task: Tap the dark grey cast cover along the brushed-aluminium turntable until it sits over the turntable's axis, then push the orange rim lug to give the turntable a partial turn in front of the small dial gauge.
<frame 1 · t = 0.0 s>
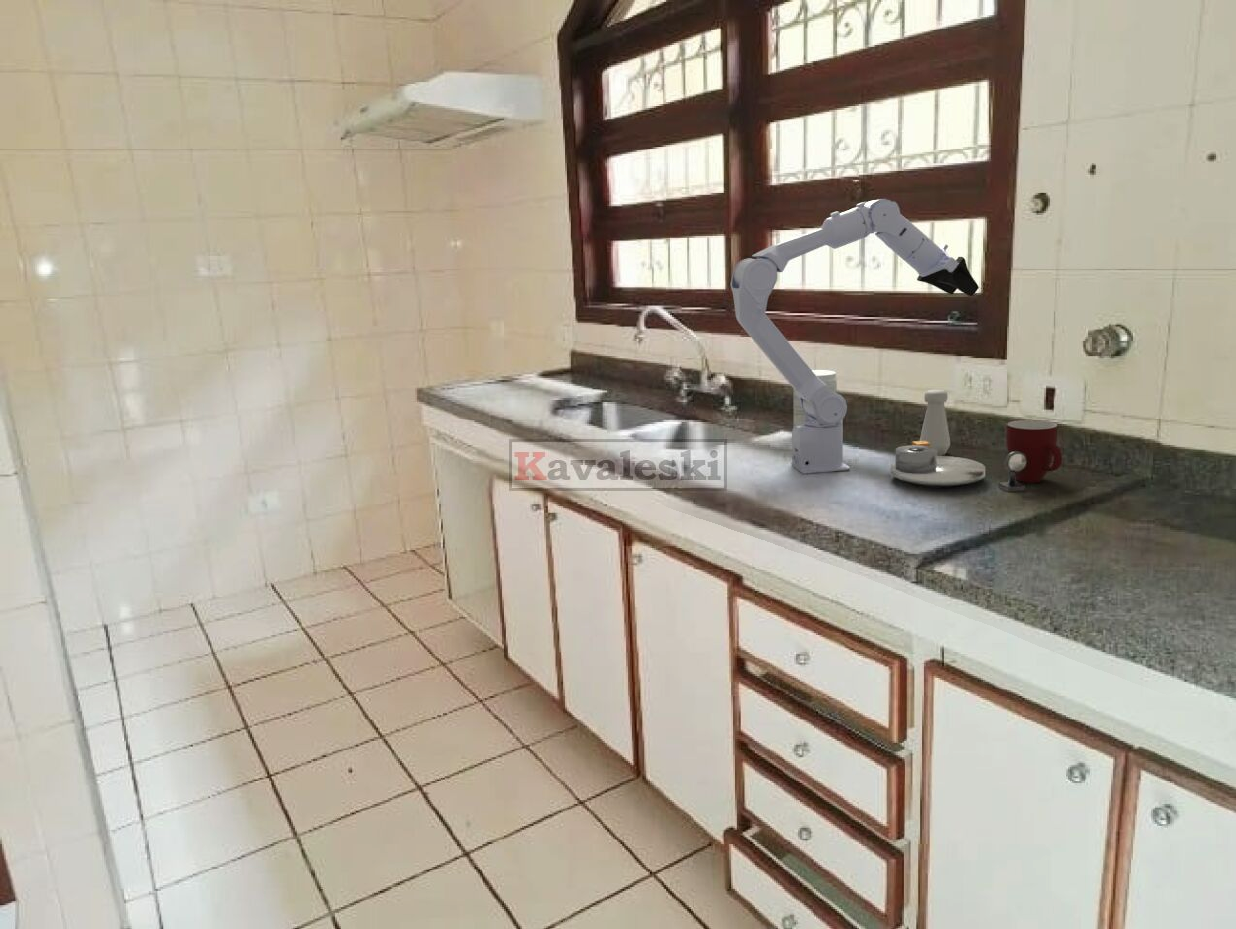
hand: (964, 291, 159), 32 cm above the worktop, tool tilted 50°, fingers open, 7 cm apart
mug: (1034, 482, 147), on the worktop
turntable: (937, 461, 151), point 3 cm above the worktop, hinge at 0.0°, touching cover
turntable base: (936, 479, 152), on the worktop
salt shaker: (934, 454, 170), on the worktop
dial gauge: (1011, 488, 144), on the worktop
cover: (915, 468, 151), point 2 cm above the worktop, touching turntable
supplement tub: (815, 437, 192), on the worktop
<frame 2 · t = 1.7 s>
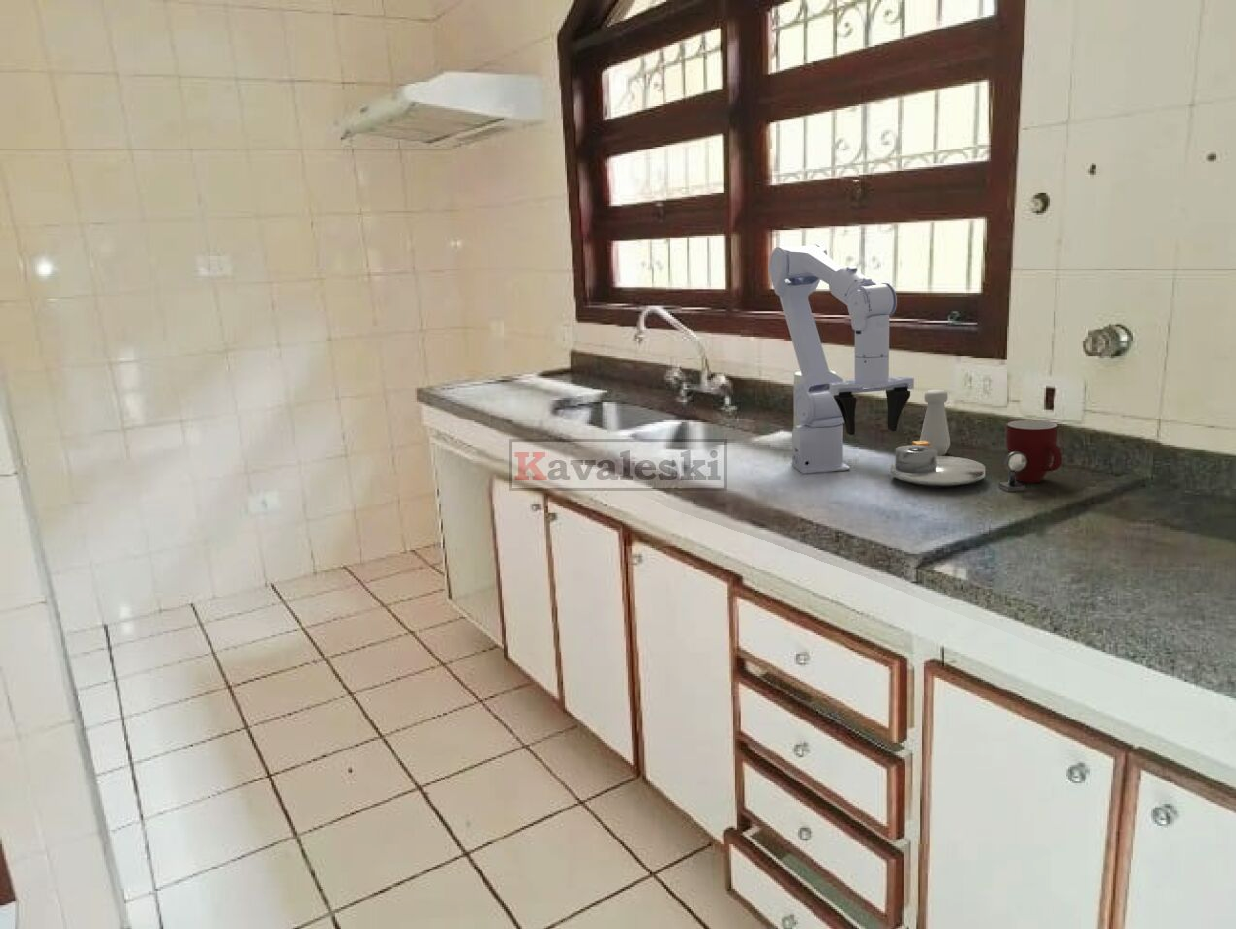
hand: (871, 432, 149), 10 cm above the worktop, tool pointing down, fingers open, 7 cm apart
nothing on the worktop moved.
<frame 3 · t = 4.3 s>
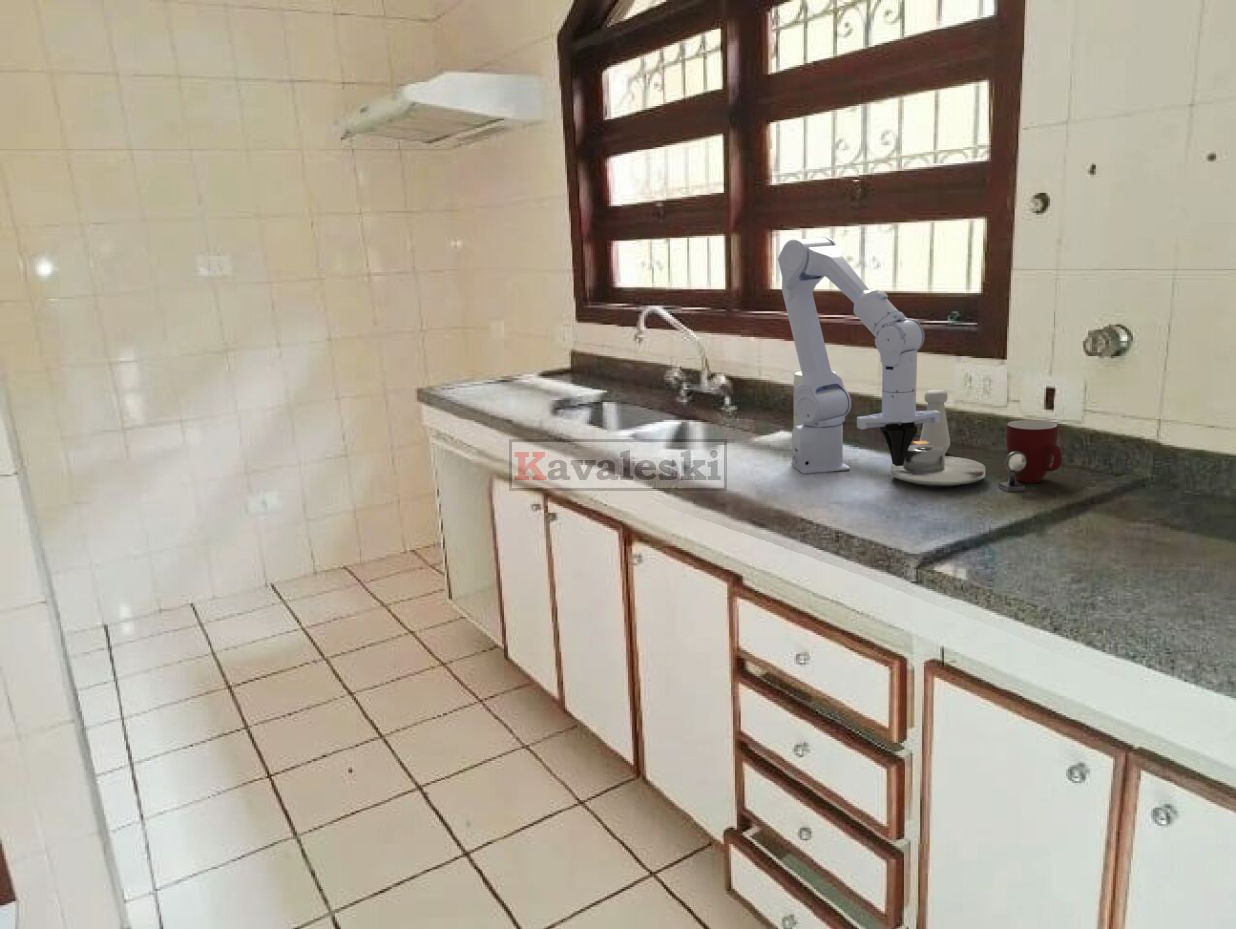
hand: (897, 464, 150), 4 cm above the worktop, tool pointing down, fingers closed
turntable: (937, 461, 151), point 3 cm above the worktop, hinge at 0.0°
cover: (923, 467, 151), point 3 cm above the worktop, touching gripper
everything else where it was.
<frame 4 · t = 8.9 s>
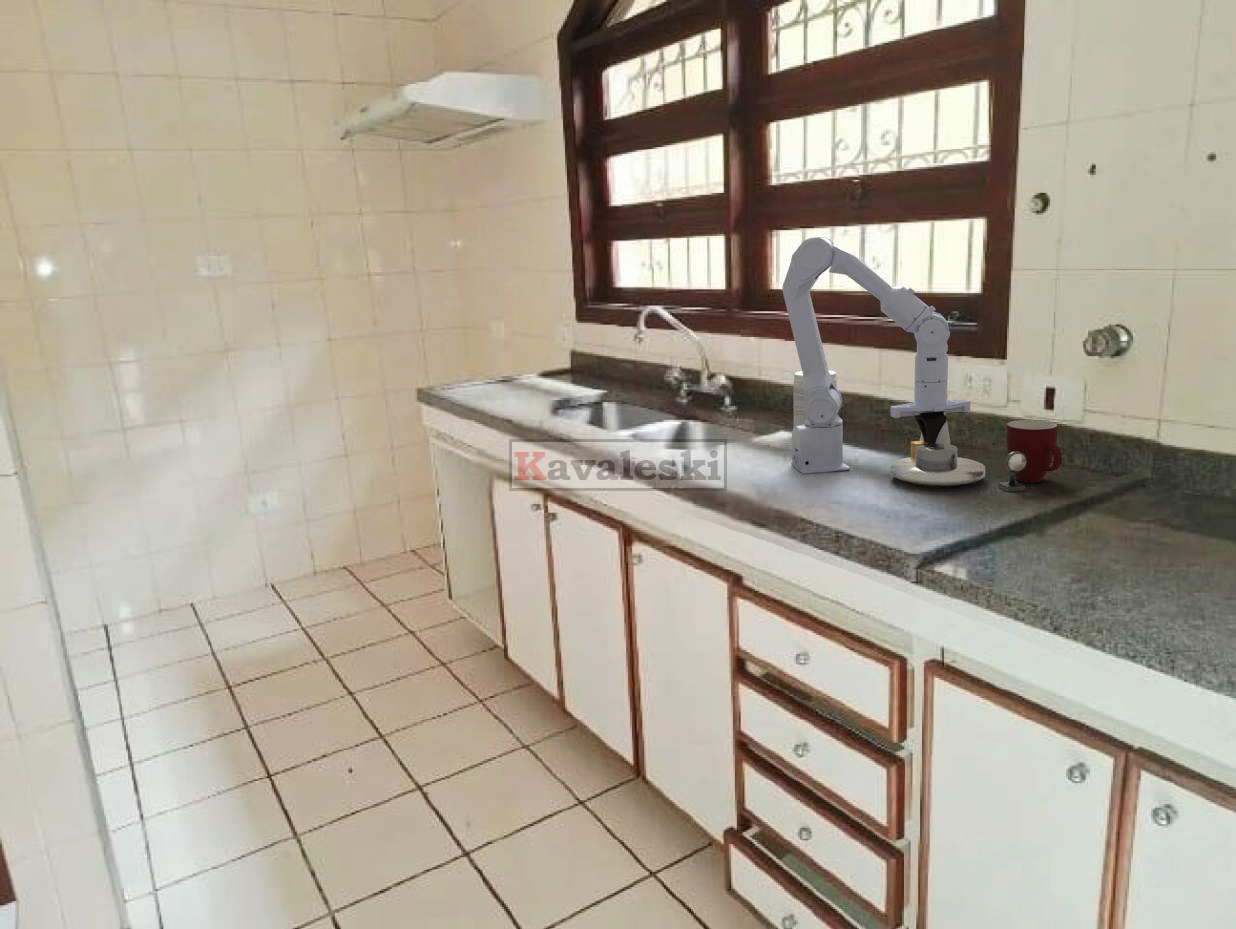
hand: (929, 451, 158), 4 cm above the worktop, tool pointing down, fingers closed
turntable: (937, 461, 151), point 3 cm above the worktop, hinge at 2.1°, touching cover, gripper
cover: (936, 466, 151), point 2 cm above the worktop, touching turntable
everything else where it was.
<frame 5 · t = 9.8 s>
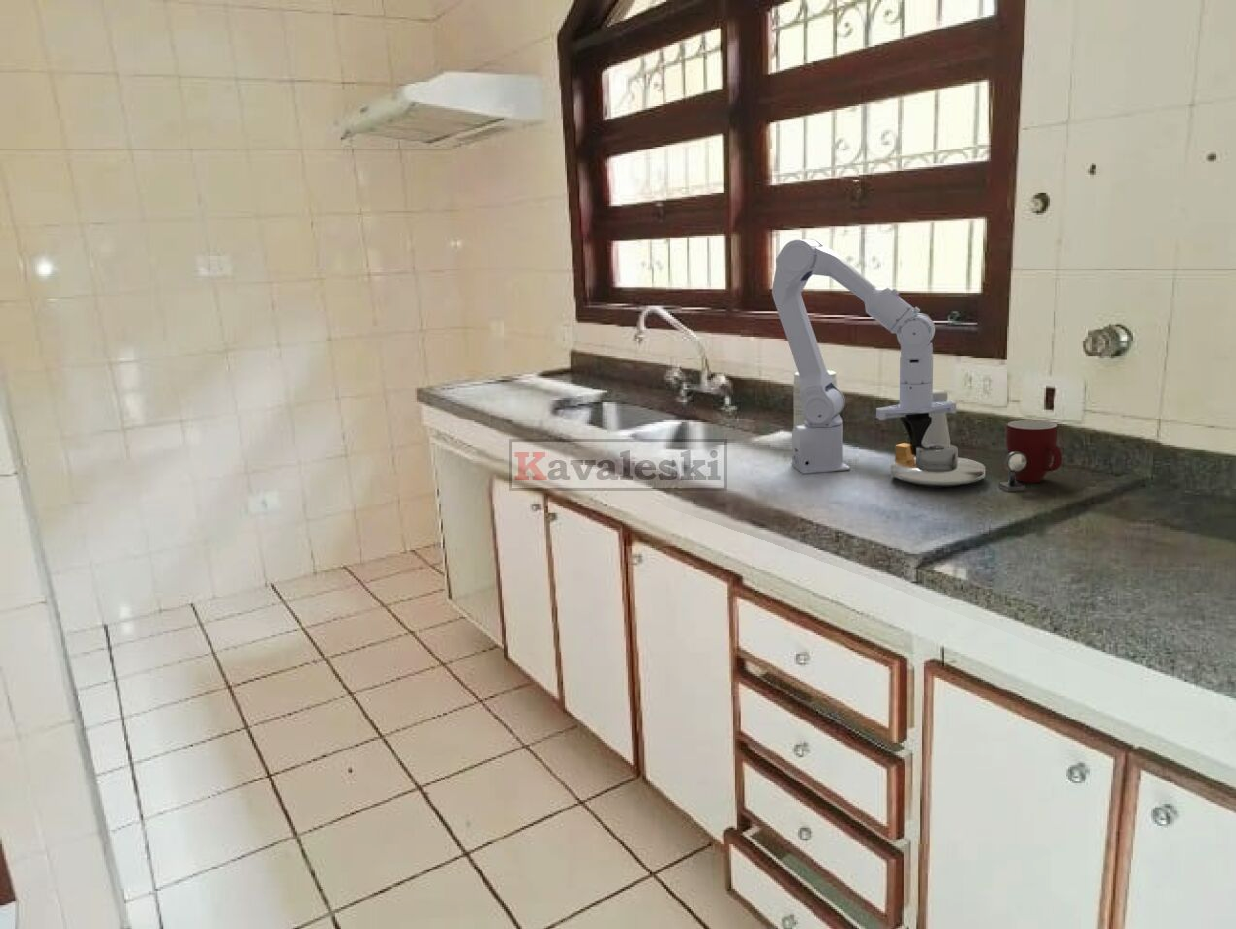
hand: (915, 453, 157), 4 cm above the worktop, tool pointing down, fingers closed, pressing on turntable
turntable: (937, 461, 151), point 3 cm above the worktop, hinge at 31.9°, touching cover, gripper
everything else where it was.
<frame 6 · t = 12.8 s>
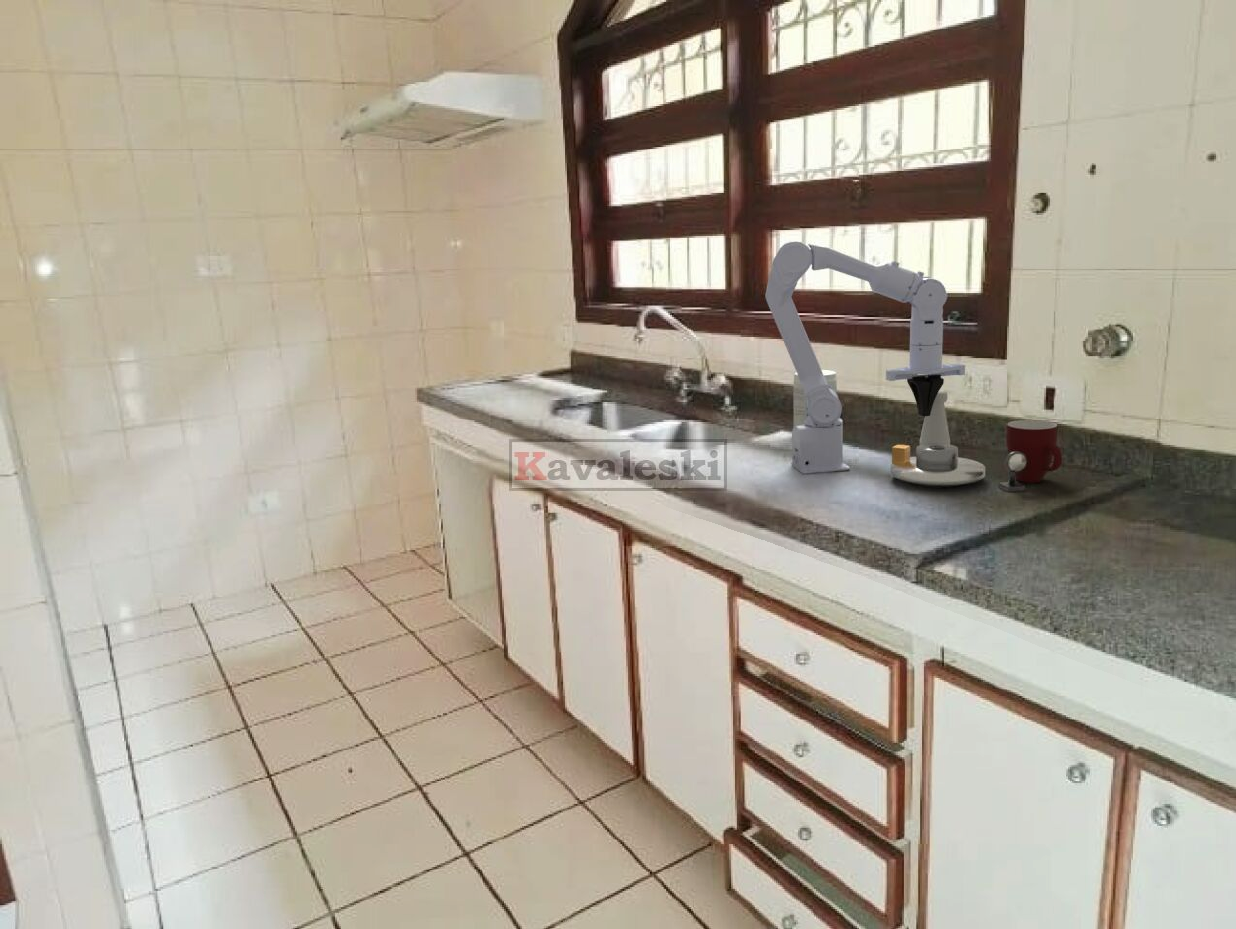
hand: (924, 415, 159), 10 cm above the worktop, tool pointing down, fingers closed
turntable: (937, 461, 151), point 3 cm above the worktop, hinge at 42.8°, touching cover
everything else where it was.
at the end: cover 0.2 cm from the turntable (horizontally); turntable at +43° (first picture: +0°); cover tilted 0° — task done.
